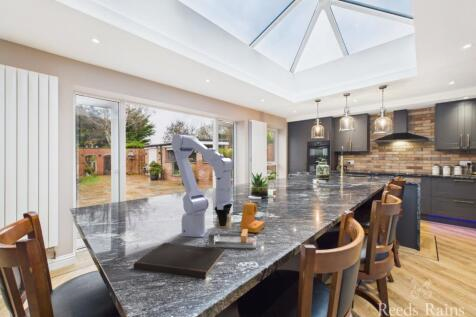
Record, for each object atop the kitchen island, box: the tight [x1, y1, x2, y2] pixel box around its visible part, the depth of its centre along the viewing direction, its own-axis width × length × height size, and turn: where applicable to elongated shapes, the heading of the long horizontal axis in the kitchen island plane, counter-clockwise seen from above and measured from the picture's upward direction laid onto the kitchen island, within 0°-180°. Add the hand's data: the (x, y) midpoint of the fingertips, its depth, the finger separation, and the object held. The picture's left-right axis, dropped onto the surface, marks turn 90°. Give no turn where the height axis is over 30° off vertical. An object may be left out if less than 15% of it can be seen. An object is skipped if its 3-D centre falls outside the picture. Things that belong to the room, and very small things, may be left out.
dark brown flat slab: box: [133, 242, 225, 280], centre depth 71 cm, size 16×23×2 cm
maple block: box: [216, 213, 232, 230], centre depth 86 cm, size 5×4×5 cm
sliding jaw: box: [241, 229, 249, 242], centre depth 85 cm, size 2×8×3 cm, turn 173°
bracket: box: [240, 202, 265, 233], centre depth 101 cm, size 11×7×12 cm, turn 151°
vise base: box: [206, 227, 258, 249], centre depth 86 cm, size 18×10×4 cm, turn 83°
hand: (223, 224), depth 86 cm, fingers closed on maple block, 4 cm apart
